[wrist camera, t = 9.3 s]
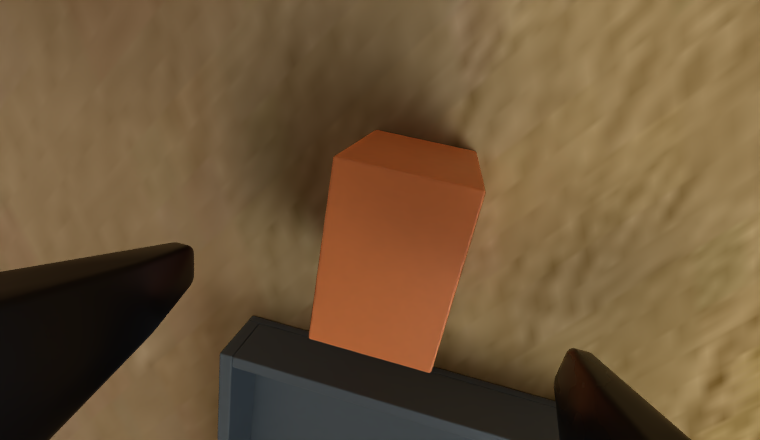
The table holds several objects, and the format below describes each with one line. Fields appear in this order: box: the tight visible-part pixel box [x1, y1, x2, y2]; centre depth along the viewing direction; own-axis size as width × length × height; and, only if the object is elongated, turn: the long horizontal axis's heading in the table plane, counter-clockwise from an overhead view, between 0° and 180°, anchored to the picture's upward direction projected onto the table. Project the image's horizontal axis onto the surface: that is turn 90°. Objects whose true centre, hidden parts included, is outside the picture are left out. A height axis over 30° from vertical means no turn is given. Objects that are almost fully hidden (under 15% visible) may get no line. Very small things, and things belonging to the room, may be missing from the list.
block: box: [309, 130, 486, 373], centre depth 13 cm, size 4×6×6 cm, turn 170°
